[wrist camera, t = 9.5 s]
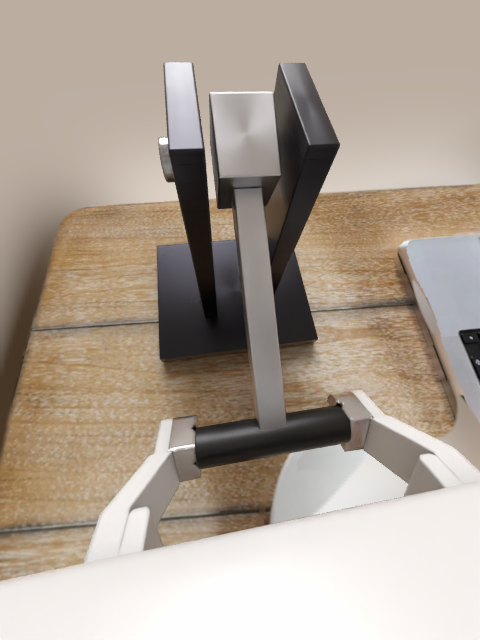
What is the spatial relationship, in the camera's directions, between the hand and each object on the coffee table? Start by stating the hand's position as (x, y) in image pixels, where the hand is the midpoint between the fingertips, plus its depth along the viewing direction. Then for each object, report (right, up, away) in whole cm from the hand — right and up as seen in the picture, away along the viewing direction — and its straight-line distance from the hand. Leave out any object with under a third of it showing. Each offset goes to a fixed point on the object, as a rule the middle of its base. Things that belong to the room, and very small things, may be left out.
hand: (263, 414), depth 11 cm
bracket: (-2, +6, +10) cm, 12 cm away
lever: (-1, +5, 0) cm, 5 cm away
